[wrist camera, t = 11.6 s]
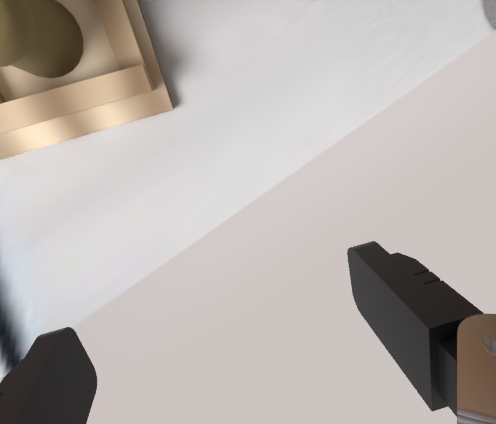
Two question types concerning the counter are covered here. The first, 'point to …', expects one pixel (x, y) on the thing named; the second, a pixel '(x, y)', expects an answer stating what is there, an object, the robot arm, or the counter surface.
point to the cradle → (86, 82)
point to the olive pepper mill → (39, 37)
